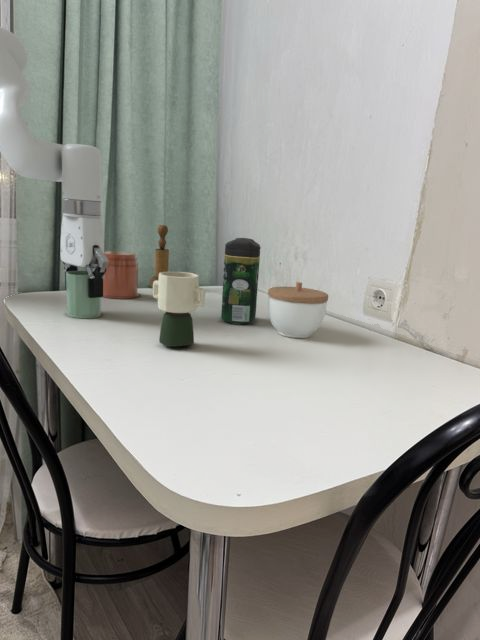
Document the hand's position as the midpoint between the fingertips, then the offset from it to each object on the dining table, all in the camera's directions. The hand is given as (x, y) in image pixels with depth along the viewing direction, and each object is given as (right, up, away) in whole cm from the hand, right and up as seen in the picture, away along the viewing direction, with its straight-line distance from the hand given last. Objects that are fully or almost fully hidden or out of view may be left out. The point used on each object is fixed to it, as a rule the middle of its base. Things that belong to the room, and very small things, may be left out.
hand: (83, 293), depth 108 cm
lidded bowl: (+45, -9, +1) cm, 46 cm away
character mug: (+22, -11, -15) cm, 29 cm away
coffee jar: (+32, -5, +8) cm, 34 cm away
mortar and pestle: (+8, +6, +42) cm, 43 cm away
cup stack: (0, +2, +25) cm, 25 cm away
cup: (0, -4, +1) cm, 5 cm away
